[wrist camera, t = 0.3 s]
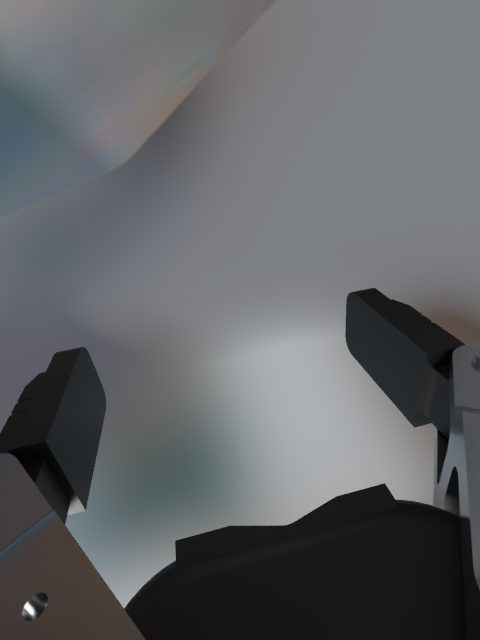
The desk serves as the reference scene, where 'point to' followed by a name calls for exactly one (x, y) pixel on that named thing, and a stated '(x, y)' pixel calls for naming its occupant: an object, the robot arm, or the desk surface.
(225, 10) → the desk surface
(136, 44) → the desk surface
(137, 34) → the desk surface
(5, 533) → the robot arm
